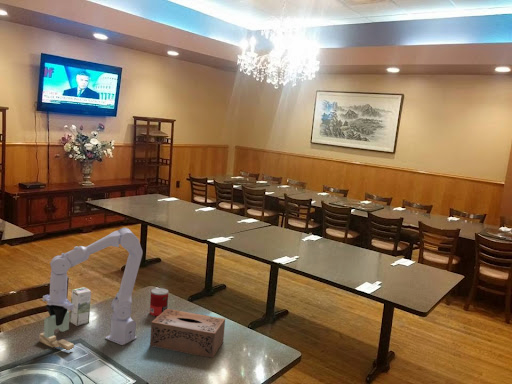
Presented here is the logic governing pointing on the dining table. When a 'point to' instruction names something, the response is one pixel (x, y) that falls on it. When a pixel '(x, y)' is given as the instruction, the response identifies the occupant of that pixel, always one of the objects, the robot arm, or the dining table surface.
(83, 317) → the syrup box
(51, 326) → the cross plate
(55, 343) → the slotted rail
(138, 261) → the robot arm
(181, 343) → the tissue box cover
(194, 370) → the dining table surface
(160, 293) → the canned food
